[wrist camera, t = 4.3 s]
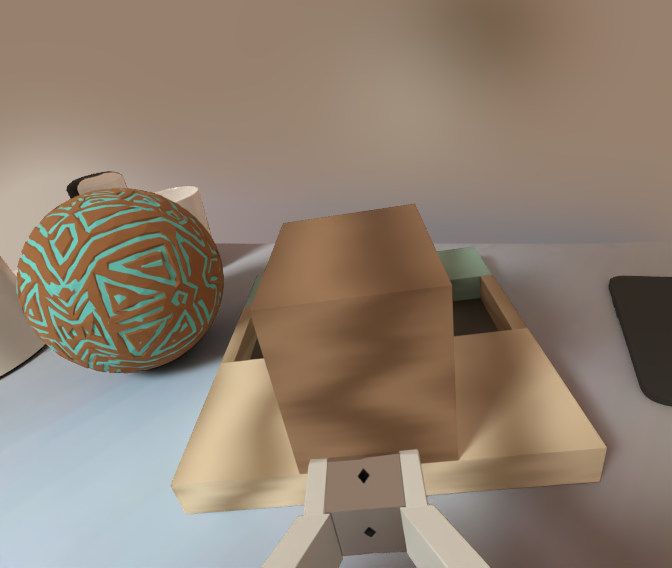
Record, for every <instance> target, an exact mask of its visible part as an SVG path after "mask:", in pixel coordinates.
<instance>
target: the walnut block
mask: <svg viewBox="0 0 672 568" xmlns="http://www.w3.org/2000/svg"><path fill="white" fill-rule="evenodd" d="M249 312H250V315H251V318H252V322H253V325H254V328H255V331H256V334H257V338H258V341H259V344H260V347H261V351H262V354H263V357H264V360H265V364H266V367H267V370H268V373H269V377H270V380H271V383H272V386H273V390H274V393H275V396H276V399H277V403H278V406H279V409H280V412H281V415H282V419H283V422H284V425H285V428H286V432H287V435H288V438H289V441H290V445H291V448H292V451H293V454H294V458H295V461H296V464H297V467H298V471H299V474H308V466H309V462H310V460H311V459H320V458H331V457H346V456H360V455H364V454H373V453H382V452H391V451H404V450H414V449H418V452H419V456H420V462H421V464H424V463H436V462H447V461H458V445H457V416H456V388H455V359H454V331H453V302H452V284H451V282H450V280H449V278H448V275H447V273H446V271H445V269H444V267H443V264H442V262H441V260H440V258H439V256H438V253H437V251H436V249H435V247H434V245H433V242H432V241H431V238H430V236H429V234H428V231H427V230H426V227H425V225H424V223H423V220H422V219H421V216H420V214H419V212H418V210H417V207H416V205H415V204H410V205H403V206H396V207H389V208H383V209H376V210H369V211H362V212H356V213H349V214H343V215H335V216H328V217H322V218H315V219H308V220H301V221H295V222H288V223H283V225H282V228H281V230H280V233H279V236H278V238H277V240H276V243H275V246H274V248H273V251H272V253H271V256H270V259H269V261H268V264H267V266H266V269H265V271H264V274H263V277H262V279H261V282H260V284H259V287H258V289H257V292H256V295H255V297H254V300H253V302H252V305H251V308H250V310H249ZM399 456H400V454H399Z"/></svg>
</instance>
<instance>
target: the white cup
mask: <svg viewBox="0 0 672 568" xmlns="http://www.w3.org/2000/svg"><path fill="white" fill-rule="evenodd" d="M155 194H158V195H161V196H163V197H165V198H167V199H169V200H171V201H173V202H175V203H177V204H179V205H180V206H181V207H183V208H184V209H186V210H188V211H189V212H190V213H191V214H192V215H193V216H195V217H196V218H197V219H198V221H199V222H200V223H201V224H202V225H203V226H204V227H205V228H206V230H207V231H208V233H209V234H210V228H209V225H208V221H207V218H206V214H205V211H204V207H203V203H202V200H201V196H200V192H199V189H198V188H197V187H192V186H186V187H177V188H171V189H167V190H163V191H159V192H155ZM210 236H211V234H210Z"/></svg>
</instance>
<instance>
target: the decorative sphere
mask: <svg viewBox="0 0 672 568" xmlns="http://www.w3.org/2000/svg"><path fill="white" fill-rule="evenodd" d="M223 288H224V275H223V268H222V262H221V258H220V255H219V252H218V250H217V247H216V244H215V243H214V241H213V239H212V237H211V236H210V234H209V233H208V231H207V230H206V228H205V227H204V226H203V225H202V224H201V223H200V222H199V221H198V219H197V218H196V217H195V216H193V215H192V214H191V213H190V212H189V211H188V210H186V209H184V208H183V207H181V206H180V205H179V204H177V203H175V202H173V201H171V200H169V199H167V198H165V197H163V196H161V195H158V194H155V193H152V192H147V191H143V190H136V189H129V188H112V189H102V190H95V191H91V192H87V193H84V194H81V195H79V196H76V197H74V198H72V199H70V200H68V201H66V202H65V203H63V204H61V205H59V206H58V207H56V208H55V209H53V210H52V211H51V212H50V213H48V214H47V215H46V216H45V217H44V218H43V219H42V221H41V222H40V224H39V225H38V226H37V227H35V228H34V230H33V231H32V233H31V234H30V236H29V240H28V241H27V242H25V244H24V247H23V249H22V257H21V258H20V259H19V263H18V273H17V282H16V289H17V294H18V298H19V299H20V300H19V301H20V304H21V307H22V310H23V313H24V316H25V318H26V320H27V322H28V324H29V325H30V326H31V328H32V329H33V330H34V331H35V333H36V334H37V335H38V337H39V338H40V339H41V340H42V341H43V342H44V343H45V344H46V345H47V346H49V347H50V348H51V349H52V350H53V351H55V352H56V353H57V354H58V355H60V356H61V357H63V358H65V359H67V360H69V361H71V362H74V363H76V364H78V365H81V366H83V367H86V368H91V369H93V370H96V371H101V372H107V371H109V373H131V372H138V371H139V370H149V369H151V368H154V367H159V366H161V365H164V364H166V363H169V362H171V361H172V360H174V359H176V358H178V357H179V356H181V355H183V354H184V353H185V352H187V351H188V350H189V349H191V348H192V347H193V346H194V345H195V344H196V343H197V342H198V341H199V340H200V339H201V338H202V337H203V336H204V334H205V333H206V332H207V331H208V329H209V328H210V326H211V324H212V323H213V321H214V319H215V317H216V315H217V312H218V309H219V307H220V304H221V299H222V295H223Z"/></svg>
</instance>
